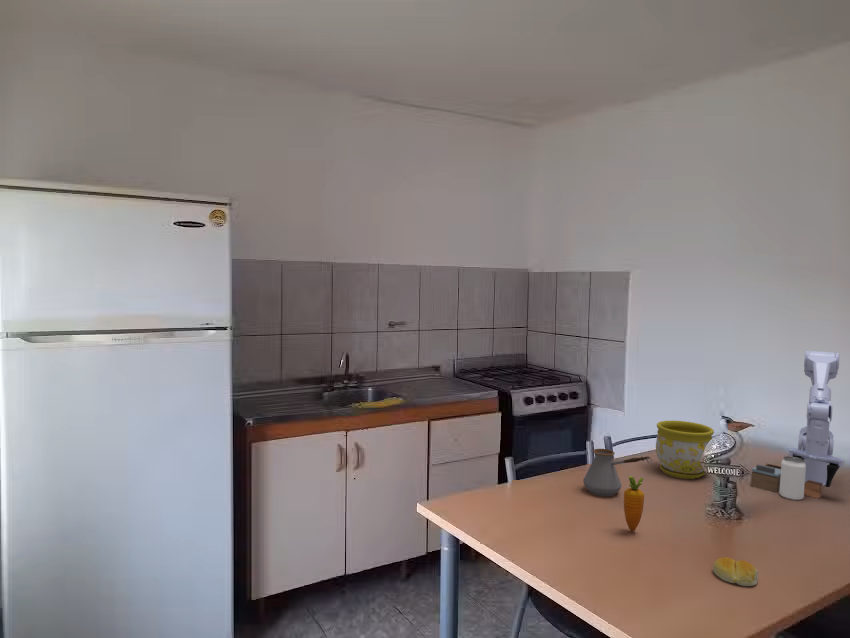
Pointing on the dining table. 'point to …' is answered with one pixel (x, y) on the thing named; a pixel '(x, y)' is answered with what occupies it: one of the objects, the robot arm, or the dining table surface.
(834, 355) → the robot arm
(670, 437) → the flowerpot
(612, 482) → the coffee pot
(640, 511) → the carrot
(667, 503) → the dining table surface
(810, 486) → the block
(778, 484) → the brown rectangular box
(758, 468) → the cover
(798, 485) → the can
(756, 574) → the bread roll
